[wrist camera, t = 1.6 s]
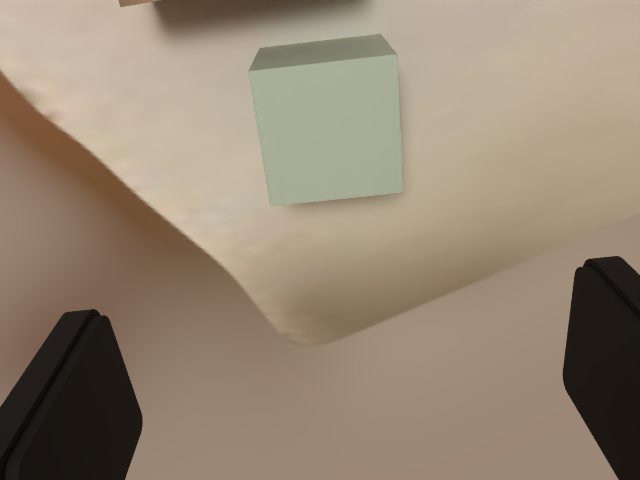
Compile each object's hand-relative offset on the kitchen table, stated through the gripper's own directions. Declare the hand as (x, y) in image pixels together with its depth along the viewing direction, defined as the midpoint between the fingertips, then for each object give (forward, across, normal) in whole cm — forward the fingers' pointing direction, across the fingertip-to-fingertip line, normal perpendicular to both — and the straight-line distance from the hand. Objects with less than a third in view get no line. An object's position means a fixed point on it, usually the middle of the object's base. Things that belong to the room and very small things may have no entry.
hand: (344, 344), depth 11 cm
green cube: (+20, 0, 0) cm, 20 cm away
